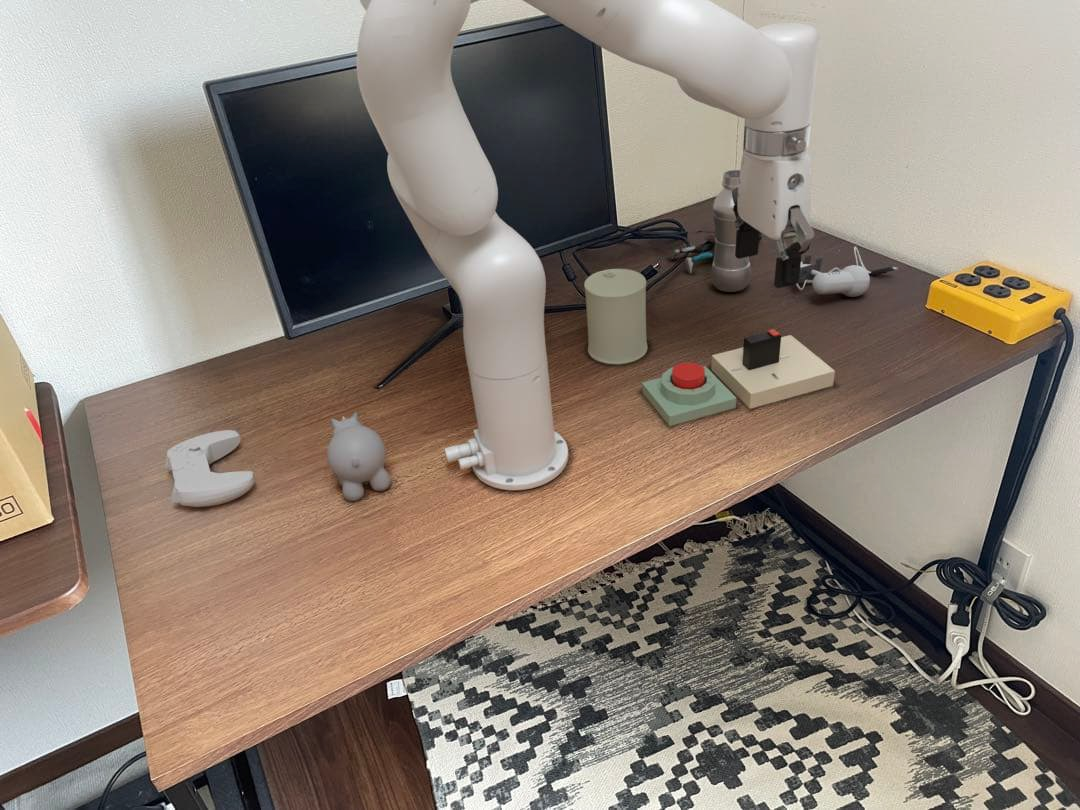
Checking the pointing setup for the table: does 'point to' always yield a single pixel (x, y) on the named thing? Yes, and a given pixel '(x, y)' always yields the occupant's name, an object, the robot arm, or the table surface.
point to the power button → (688, 376)
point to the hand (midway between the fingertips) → (765, 270)
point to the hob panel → (774, 374)
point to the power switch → (687, 398)
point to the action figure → (700, 250)
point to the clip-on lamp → (838, 277)
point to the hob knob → (761, 349)
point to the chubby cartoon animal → (357, 457)
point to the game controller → (206, 470)
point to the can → (616, 316)
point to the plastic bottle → (728, 241)
